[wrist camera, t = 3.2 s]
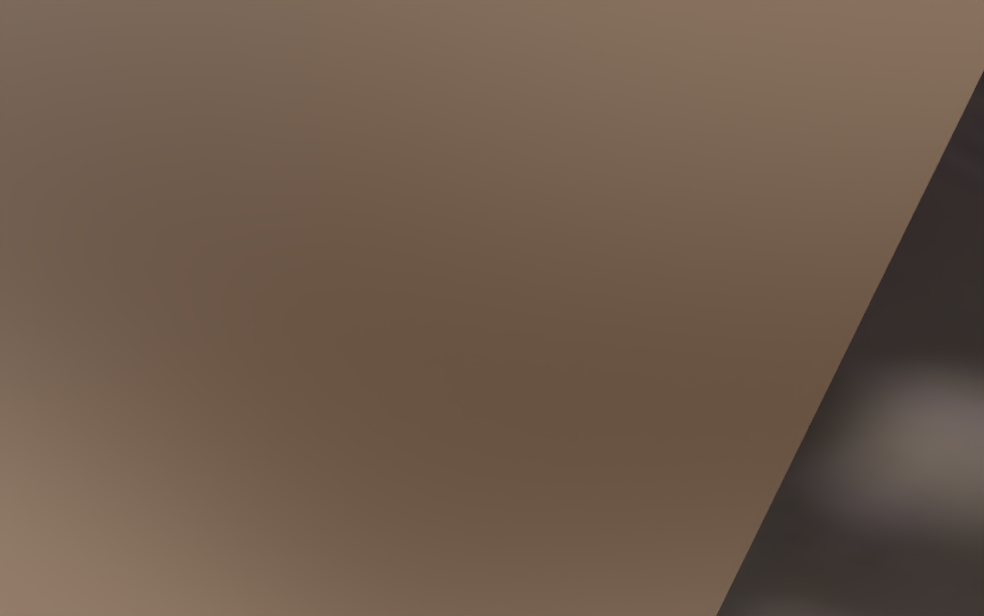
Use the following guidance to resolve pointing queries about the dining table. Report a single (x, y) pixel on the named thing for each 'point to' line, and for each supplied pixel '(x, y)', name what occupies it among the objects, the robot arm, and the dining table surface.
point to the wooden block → (436, 290)
